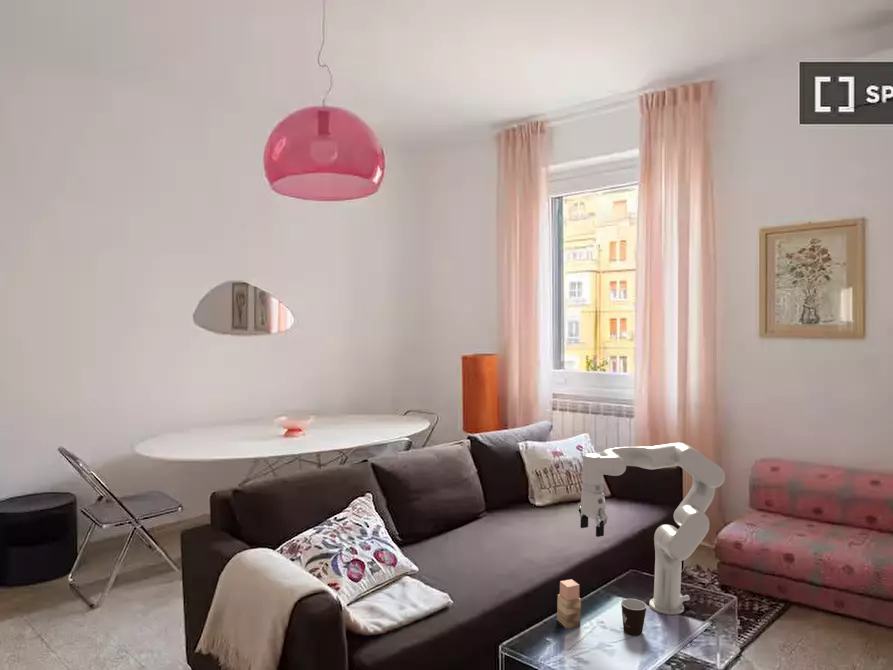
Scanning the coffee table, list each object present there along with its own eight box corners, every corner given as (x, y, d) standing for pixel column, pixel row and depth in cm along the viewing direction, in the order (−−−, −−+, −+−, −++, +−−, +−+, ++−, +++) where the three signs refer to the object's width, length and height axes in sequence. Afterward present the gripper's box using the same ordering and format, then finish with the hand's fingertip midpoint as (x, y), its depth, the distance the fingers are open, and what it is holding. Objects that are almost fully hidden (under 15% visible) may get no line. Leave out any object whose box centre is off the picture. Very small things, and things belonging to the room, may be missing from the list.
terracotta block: (571, 592, 244) (571, 579, 244) (579, 598, 240) (579, 584, 239) (559, 594, 242) (560, 581, 242) (567, 600, 238) (567, 587, 238)
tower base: (570, 618, 246) (571, 605, 245) (580, 625, 240) (580, 612, 240) (556, 621, 243) (557, 607, 243) (565, 628, 238) (566, 615, 238)
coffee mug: (646, 639, 232) (647, 611, 231) (620, 636, 233) (621, 608, 233) (643, 623, 243) (644, 596, 242) (619, 620, 245) (620, 593, 244)
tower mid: (571, 605, 245) (571, 591, 245) (580, 612, 240) (581, 598, 239) (557, 607, 243) (557, 594, 243) (566, 615, 238) (566, 601, 237)
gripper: (615, 492, 244) (614, 538, 245) (587, 479, 259) (586, 523, 261) (598, 494, 241) (597, 541, 242) (571, 482, 256) (570, 525, 258)
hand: (591, 531), depth 251 cm, fingers open, 9 cm apart
